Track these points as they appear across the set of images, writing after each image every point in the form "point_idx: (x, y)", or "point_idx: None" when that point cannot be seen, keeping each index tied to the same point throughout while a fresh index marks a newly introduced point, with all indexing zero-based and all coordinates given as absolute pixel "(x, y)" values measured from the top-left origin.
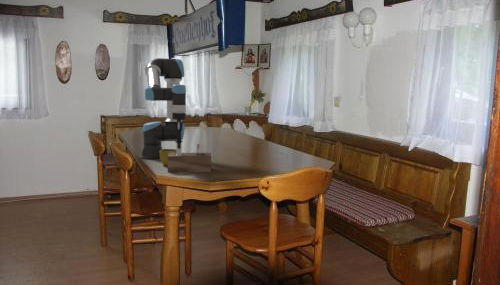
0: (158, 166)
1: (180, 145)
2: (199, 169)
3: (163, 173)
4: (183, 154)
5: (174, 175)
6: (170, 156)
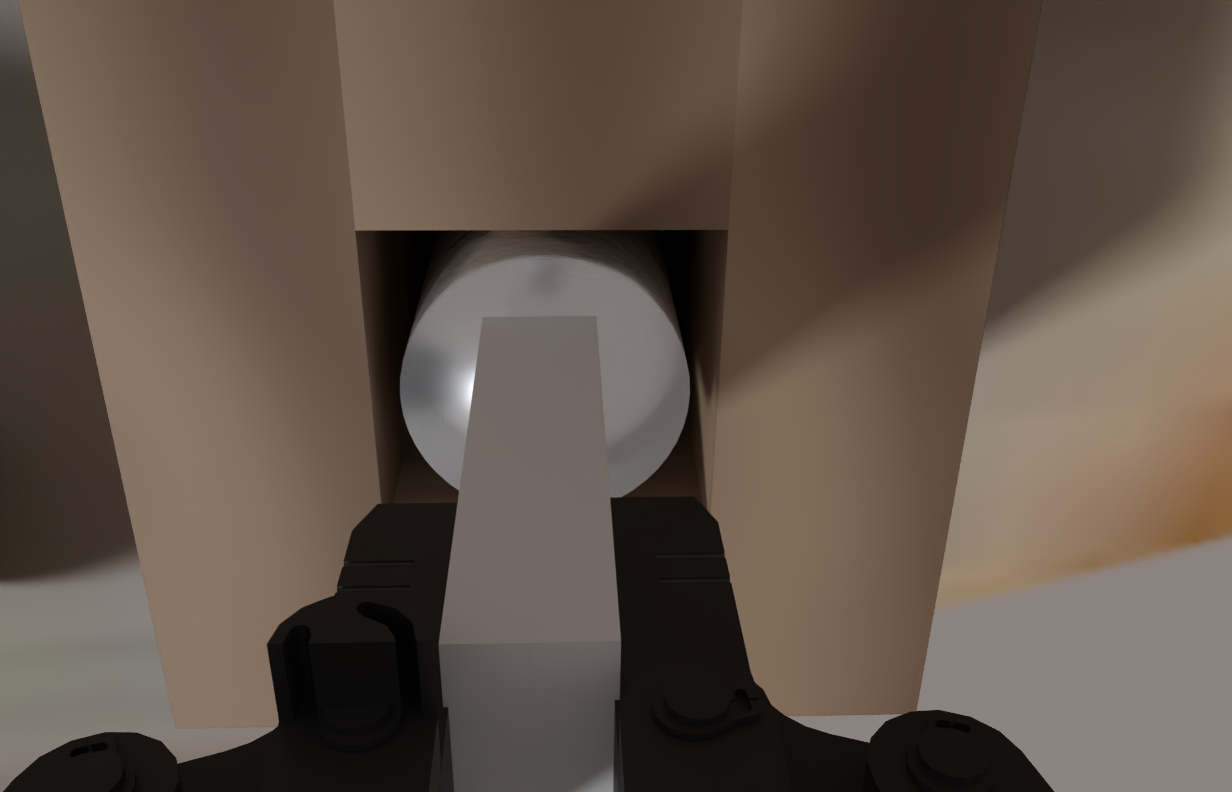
0: (143, 665)
1: (617, 576)
2: None
3: None
4: (542, 223)
5: (1187, 272)
6: (928, 635)
